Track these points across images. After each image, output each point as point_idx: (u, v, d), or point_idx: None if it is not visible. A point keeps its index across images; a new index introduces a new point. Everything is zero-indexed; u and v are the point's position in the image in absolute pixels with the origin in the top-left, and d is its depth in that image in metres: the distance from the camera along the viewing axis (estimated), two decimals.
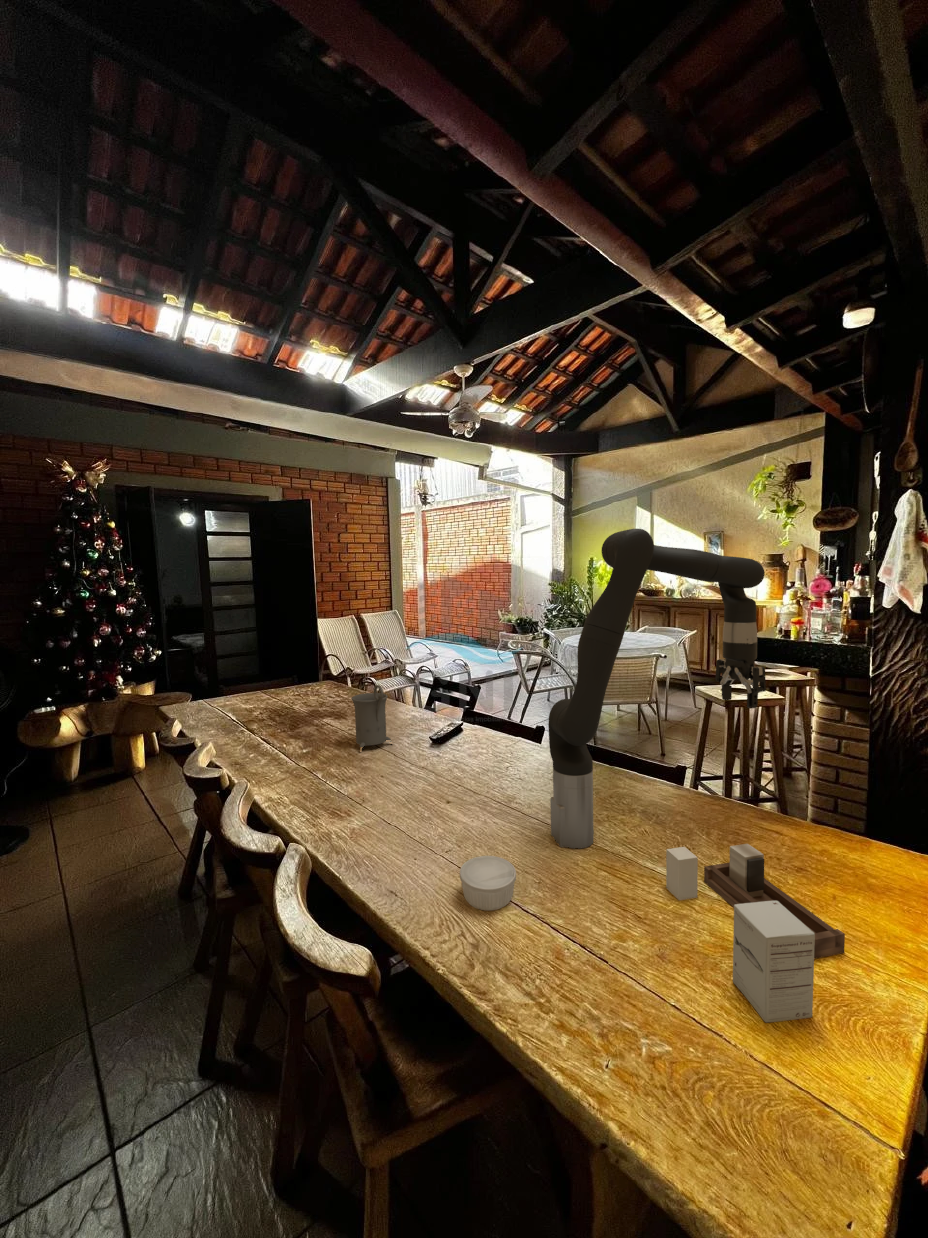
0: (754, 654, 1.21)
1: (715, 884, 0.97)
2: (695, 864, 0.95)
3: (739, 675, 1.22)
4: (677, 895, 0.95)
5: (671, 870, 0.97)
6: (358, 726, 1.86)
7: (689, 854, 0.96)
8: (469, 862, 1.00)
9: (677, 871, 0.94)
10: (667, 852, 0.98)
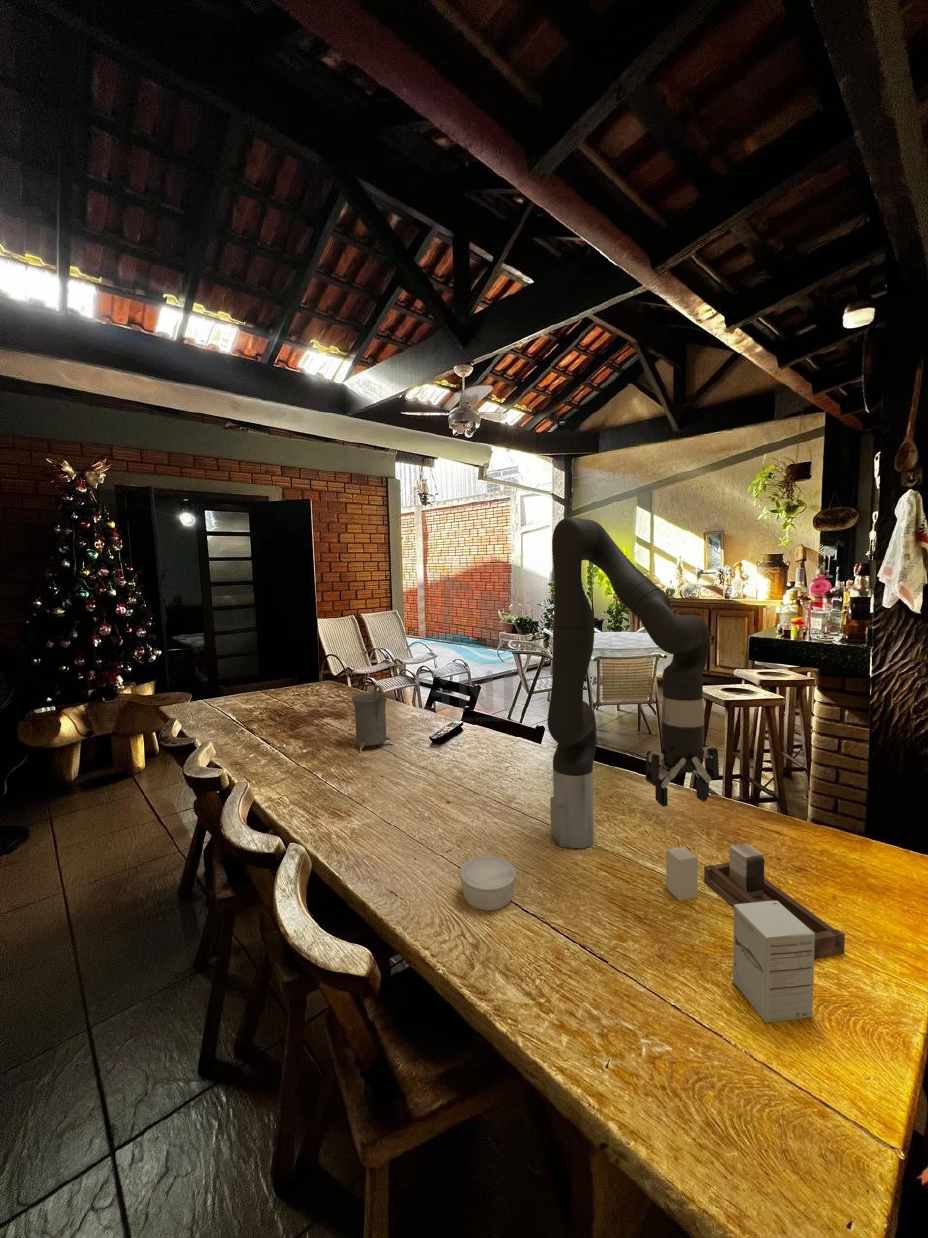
0: None
1: (715, 884, 0.97)
2: (695, 864, 0.95)
3: (697, 765, 0.94)
4: (677, 895, 0.95)
5: (671, 870, 0.97)
6: (358, 726, 1.86)
7: (689, 854, 0.96)
8: (469, 862, 1.00)
9: (677, 871, 0.94)
10: (667, 852, 0.98)
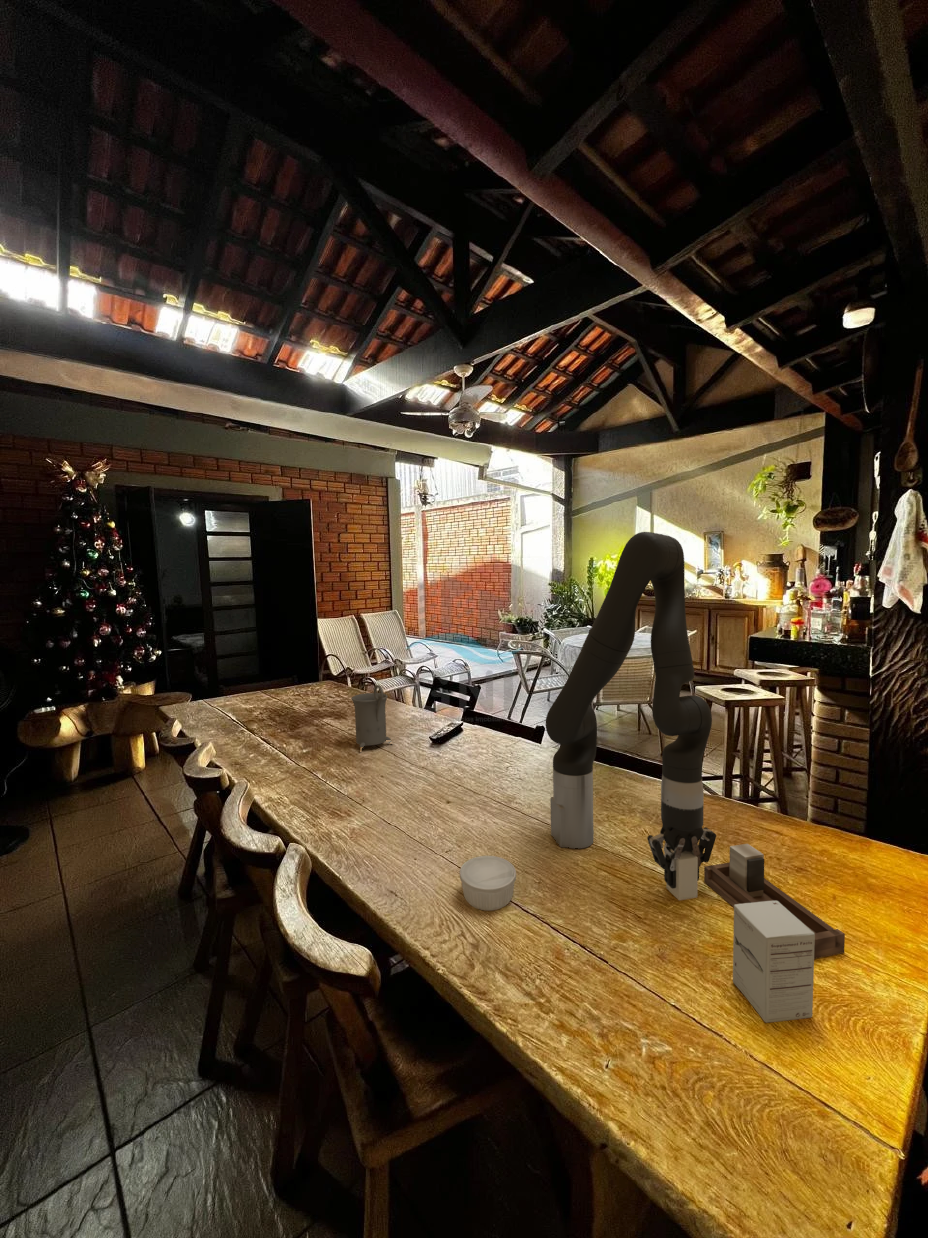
0: None
1: (715, 884, 0.97)
2: (695, 864, 0.95)
3: (694, 846, 0.95)
4: (677, 895, 0.95)
5: None
6: (358, 726, 1.86)
7: (689, 854, 0.96)
8: (469, 862, 1.00)
9: (677, 871, 0.94)
10: None
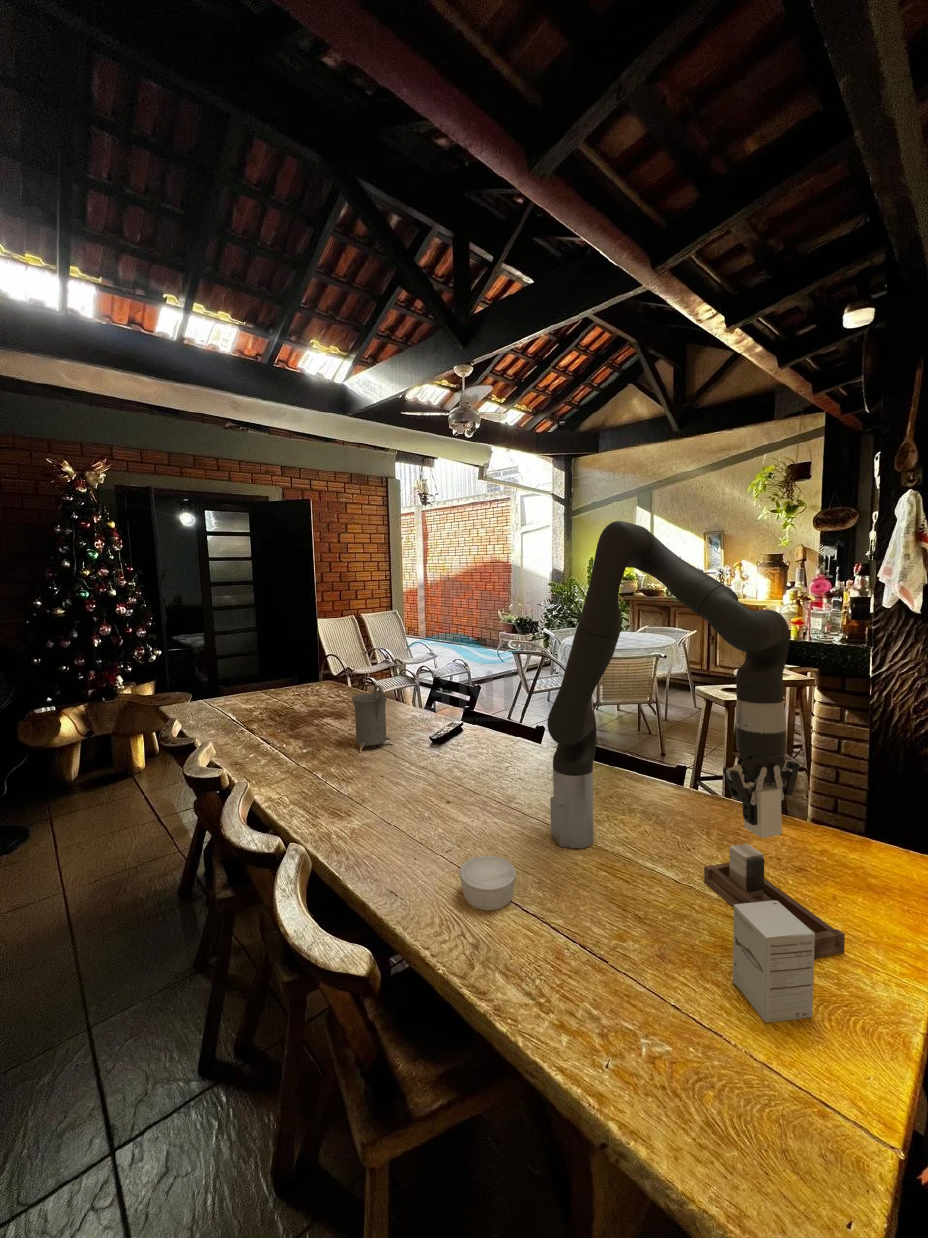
0: None
1: (715, 884, 0.97)
2: (778, 797, 0.85)
3: (776, 776, 0.85)
4: (759, 832, 0.85)
5: None
6: (358, 726, 1.86)
7: (770, 787, 0.86)
8: (469, 862, 1.00)
9: (759, 805, 0.85)
10: None
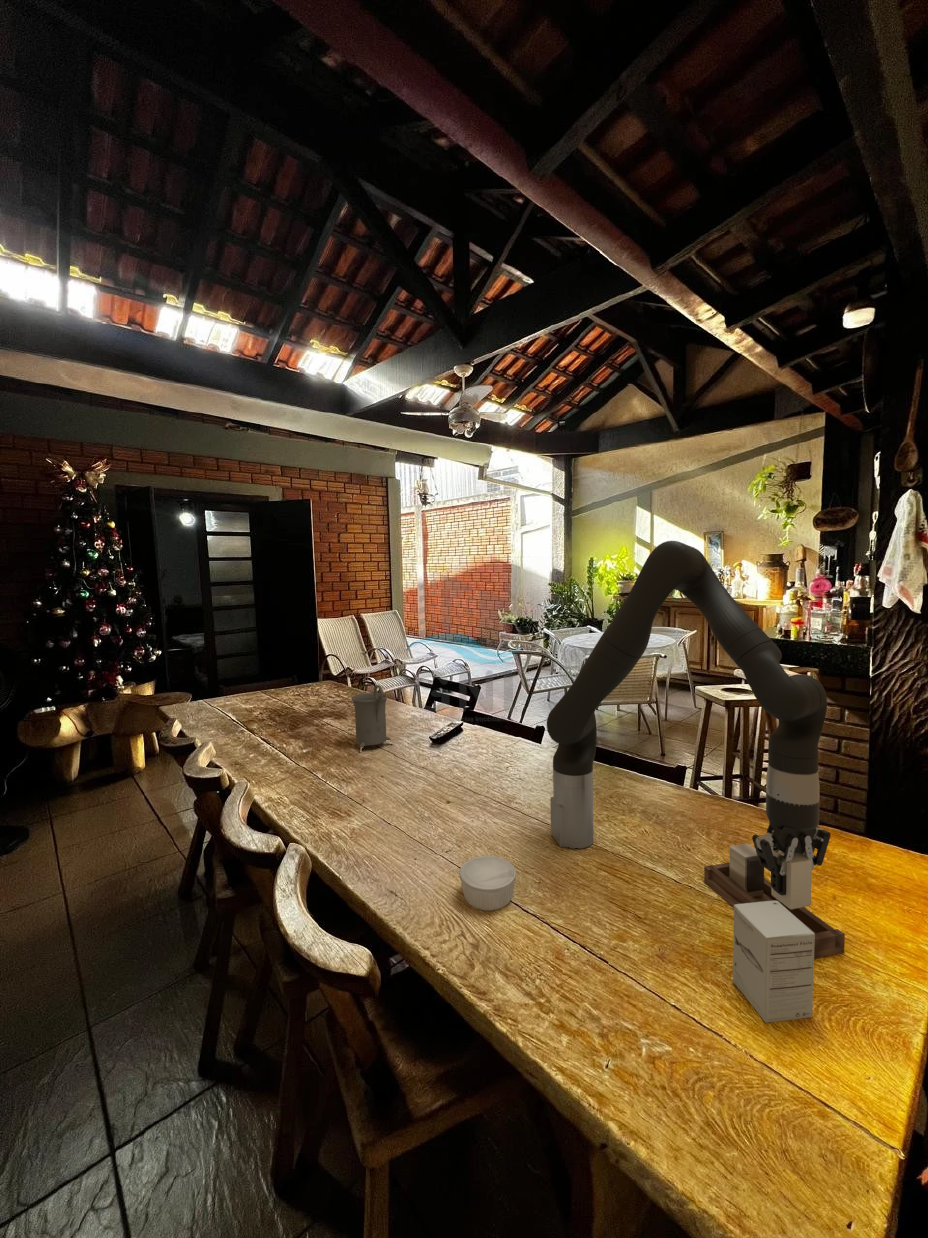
0: None
1: (715, 884, 0.97)
2: (809, 868, 0.83)
3: (807, 846, 0.83)
4: (788, 903, 0.83)
5: None
6: (358, 726, 1.86)
7: (800, 856, 0.84)
8: (469, 862, 1.00)
9: (789, 876, 0.83)
10: None
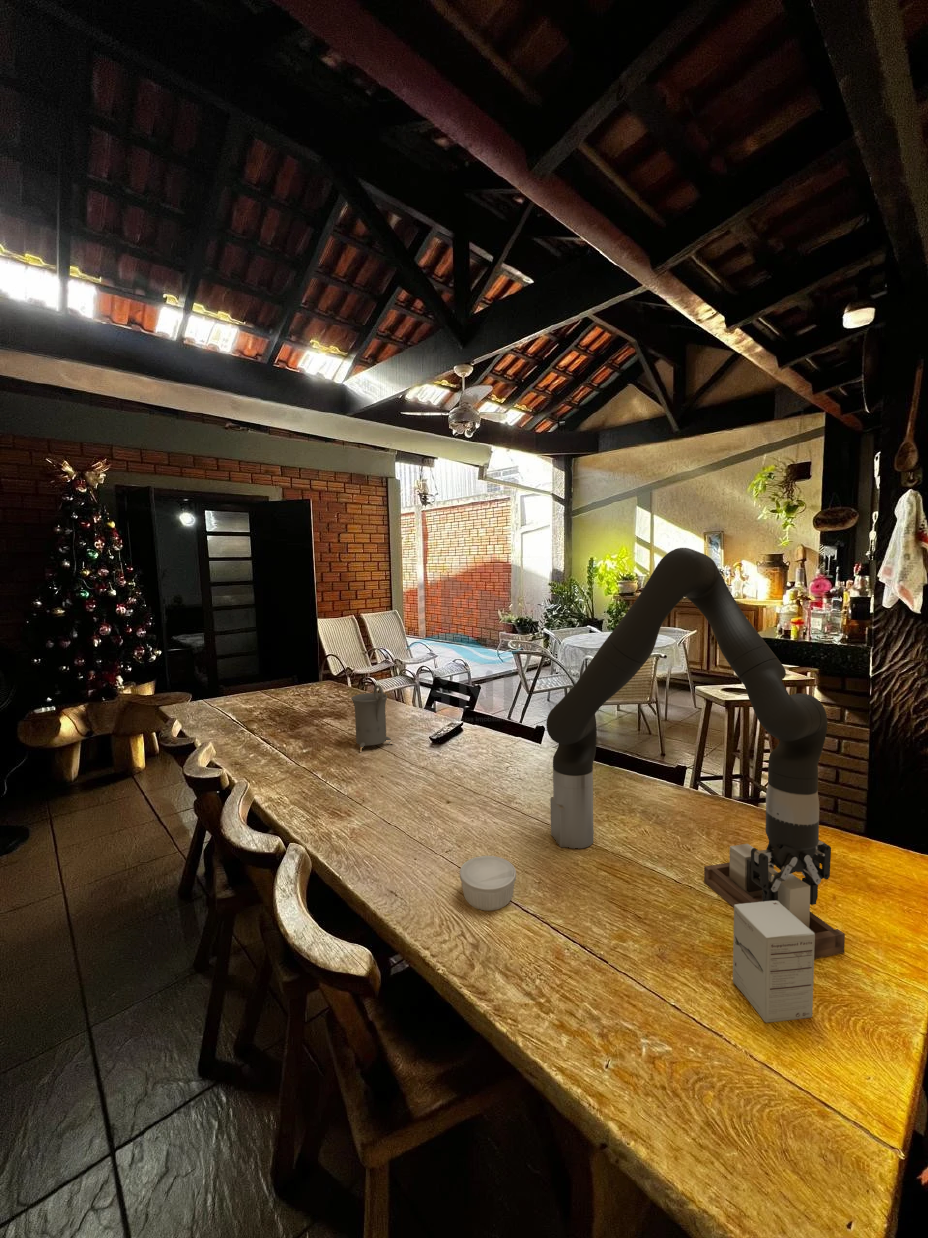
0: None
1: (715, 884, 0.97)
2: (807, 894, 0.83)
3: (809, 864, 0.83)
4: None
5: None
6: (358, 726, 1.86)
7: (799, 882, 0.84)
8: (469, 862, 1.00)
9: (787, 902, 0.83)
10: (772, 879, 0.86)
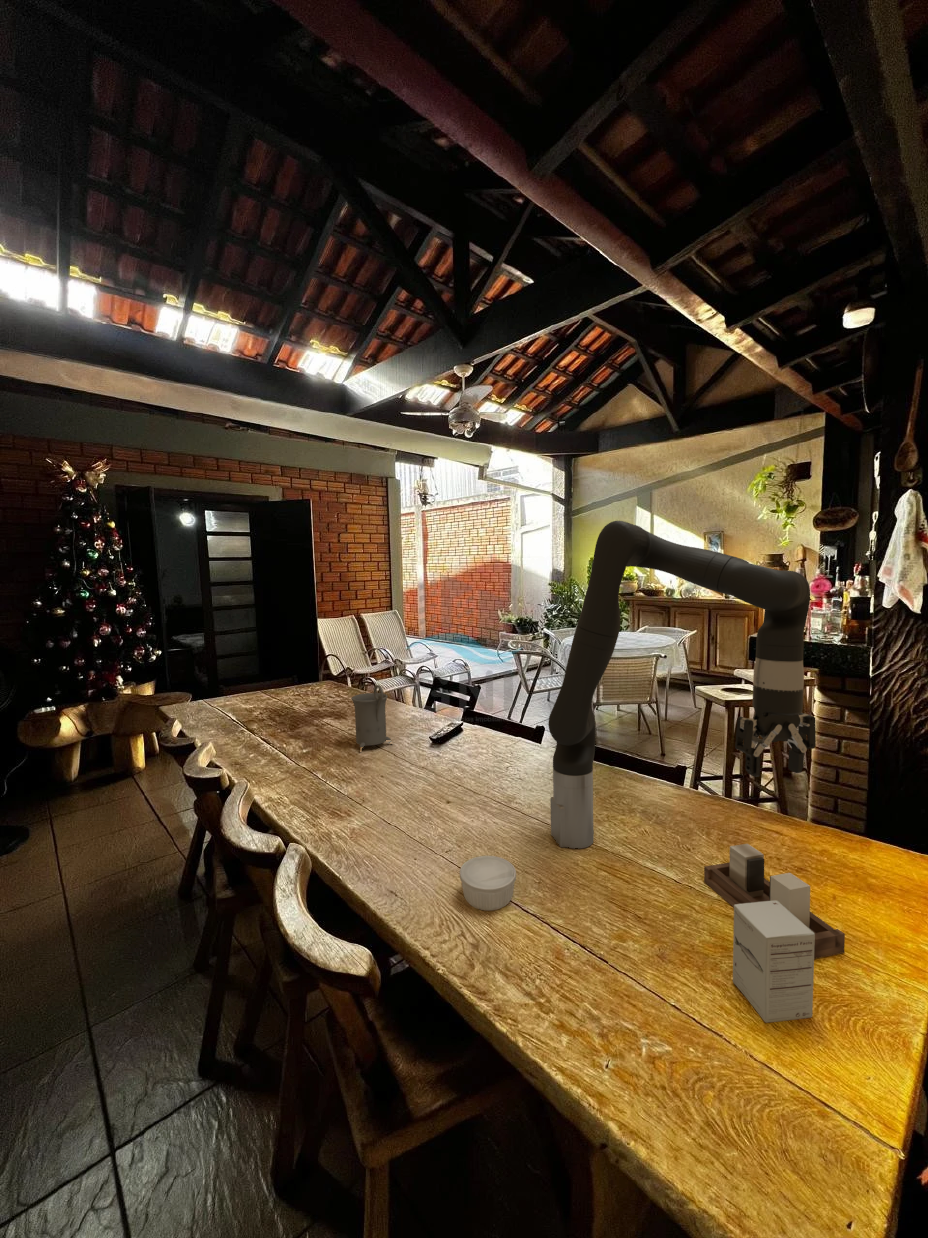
0: None
1: (715, 884, 0.97)
2: (807, 894, 0.83)
3: (793, 733, 0.87)
4: None
5: (777, 900, 0.85)
6: (358, 726, 1.86)
7: (799, 882, 0.84)
8: (469, 862, 1.00)
9: (787, 902, 0.83)
10: (772, 879, 0.86)
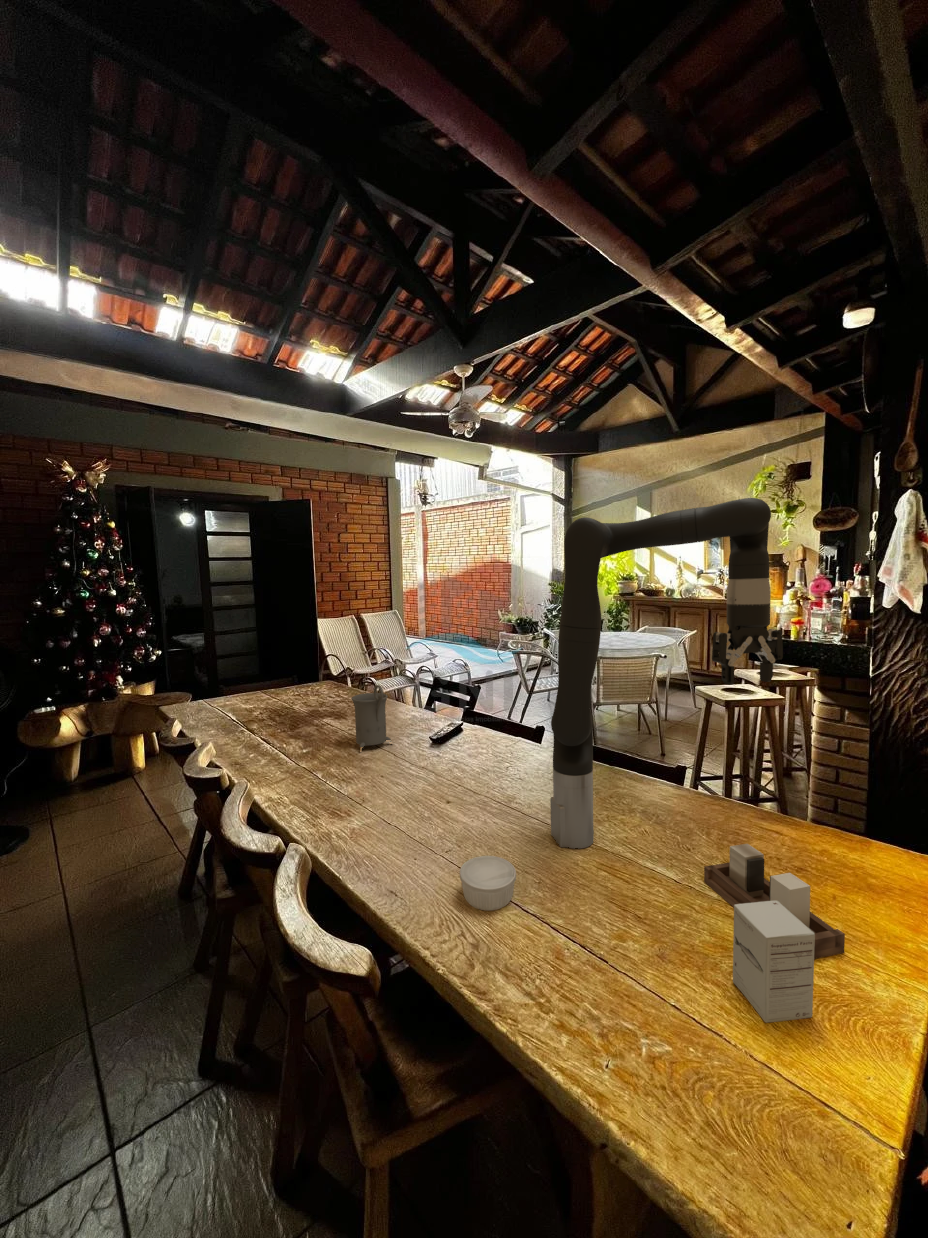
0: None
1: (715, 884, 0.97)
2: (807, 894, 0.83)
3: (763, 644, 0.97)
4: None
5: (777, 900, 0.85)
6: (358, 726, 1.86)
7: (799, 882, 0.84)
8: (469, 862, 1.00)
9: (787, 902, 0.83)
10: (772, 879, 0.86)
